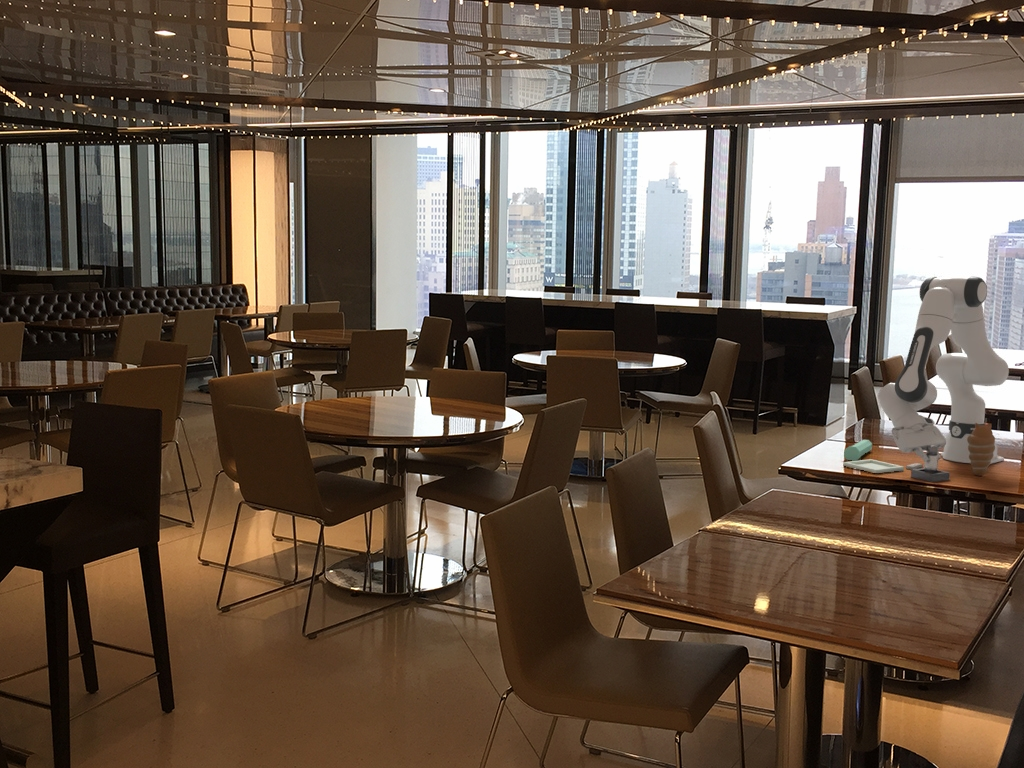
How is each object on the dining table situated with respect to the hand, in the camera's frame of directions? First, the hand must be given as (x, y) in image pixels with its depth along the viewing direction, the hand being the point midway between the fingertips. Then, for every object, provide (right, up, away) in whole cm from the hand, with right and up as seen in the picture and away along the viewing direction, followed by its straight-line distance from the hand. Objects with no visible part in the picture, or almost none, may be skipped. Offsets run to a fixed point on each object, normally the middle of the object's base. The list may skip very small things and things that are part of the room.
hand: (933, 459), depth 319 cm
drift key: (+1, -5, +18) cm, 19 cm away
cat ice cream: (+19, -6, +8) cm, 21 cm away
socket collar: (0, -6, +1) cm, 6 cm away
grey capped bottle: (0, -6, +1) cm, 6 cm away
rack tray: (-14, -4, +15) cm, 21 cm away
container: (-10, -2, +39) cm, 41 cm away
